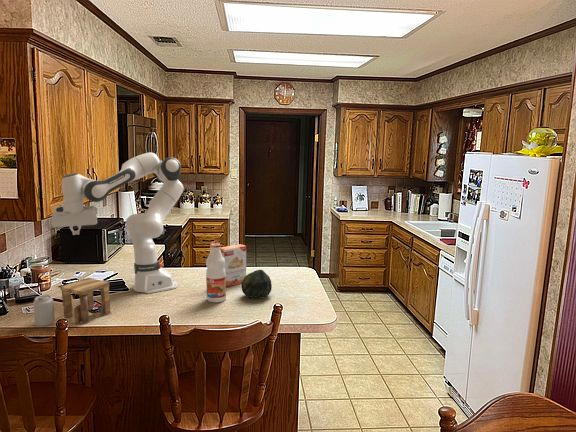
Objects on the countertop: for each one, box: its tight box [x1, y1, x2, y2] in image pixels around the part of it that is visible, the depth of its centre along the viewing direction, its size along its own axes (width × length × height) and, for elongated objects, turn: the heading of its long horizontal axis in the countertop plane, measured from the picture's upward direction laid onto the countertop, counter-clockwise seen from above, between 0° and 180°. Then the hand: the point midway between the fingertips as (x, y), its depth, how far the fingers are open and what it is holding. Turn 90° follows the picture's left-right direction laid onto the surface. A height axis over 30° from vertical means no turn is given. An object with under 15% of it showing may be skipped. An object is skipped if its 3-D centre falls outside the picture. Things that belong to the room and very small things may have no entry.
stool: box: [60, 277, 112, 325], centre depth 194 cm, size 14×16×14 cm
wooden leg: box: [78, 295, 104, 324], centre depth 191 cm, size 10×3×12 cm, turn 153°
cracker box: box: [220, 243, 247, 288], centre depth 238 cm, size 14×6×21 cm, turn 129°
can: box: [32, 294, 56, 328], centre depth 186 cm, size 8×8×12 cm
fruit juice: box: [205, 242, 227, 304], centre depth 214 cm, size 9×9×28 cm
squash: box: [241, 269, 273, 299], centre depth 219 cm, size 14×15×15 cm
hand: (76, 234), depth 216 cm, fingers closed
